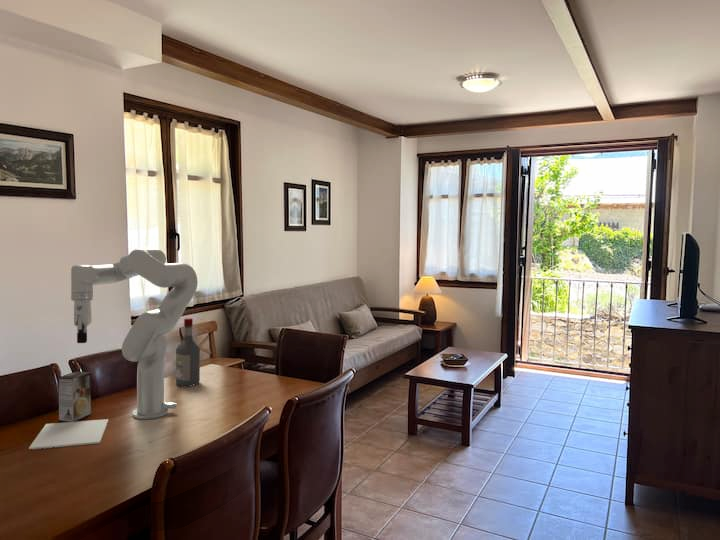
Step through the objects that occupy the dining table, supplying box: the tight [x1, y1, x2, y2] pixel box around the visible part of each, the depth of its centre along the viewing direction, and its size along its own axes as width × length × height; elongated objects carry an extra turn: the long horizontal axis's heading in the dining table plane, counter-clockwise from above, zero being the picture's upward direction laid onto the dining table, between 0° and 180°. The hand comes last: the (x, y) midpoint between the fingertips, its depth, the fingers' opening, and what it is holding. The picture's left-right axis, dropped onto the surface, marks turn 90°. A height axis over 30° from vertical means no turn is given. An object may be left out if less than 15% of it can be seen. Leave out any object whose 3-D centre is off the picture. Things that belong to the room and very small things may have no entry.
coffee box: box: [58, 370, 92, 422], centre depth 193 cm, size 9×6×16 cm
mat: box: [28, 418, 109, 451], centre depth 177 cm, size 20×22×1 cm
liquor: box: [175, 318, 201, 387], centre depth 241 cm, size 9×9×30 cm
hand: (82, 342), depth 206 cm, fingers closed
